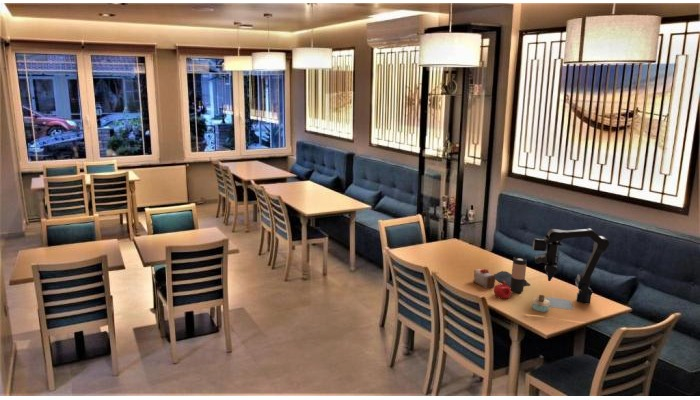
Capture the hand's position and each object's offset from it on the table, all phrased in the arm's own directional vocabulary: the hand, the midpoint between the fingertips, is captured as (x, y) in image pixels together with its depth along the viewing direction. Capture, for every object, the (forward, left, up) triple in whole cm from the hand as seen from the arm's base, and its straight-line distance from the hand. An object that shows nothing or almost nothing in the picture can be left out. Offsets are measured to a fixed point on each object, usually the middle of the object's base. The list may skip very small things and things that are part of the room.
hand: (548, 278), depth 290 cm
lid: (+4, +17, -8) cm, 19 cm away
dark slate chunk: (+20, -21, -13) cm, 31 cm away
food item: (+35, -9, -13) cm, 38 cm away
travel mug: (+16, -6, -13) cm, 21 cm away
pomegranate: (+24, +6, -13) cm, 28 cm away
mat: (-7, +6, -12) cm, 15 cm away
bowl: (+4, +17, -12) cm, 21 cm away
